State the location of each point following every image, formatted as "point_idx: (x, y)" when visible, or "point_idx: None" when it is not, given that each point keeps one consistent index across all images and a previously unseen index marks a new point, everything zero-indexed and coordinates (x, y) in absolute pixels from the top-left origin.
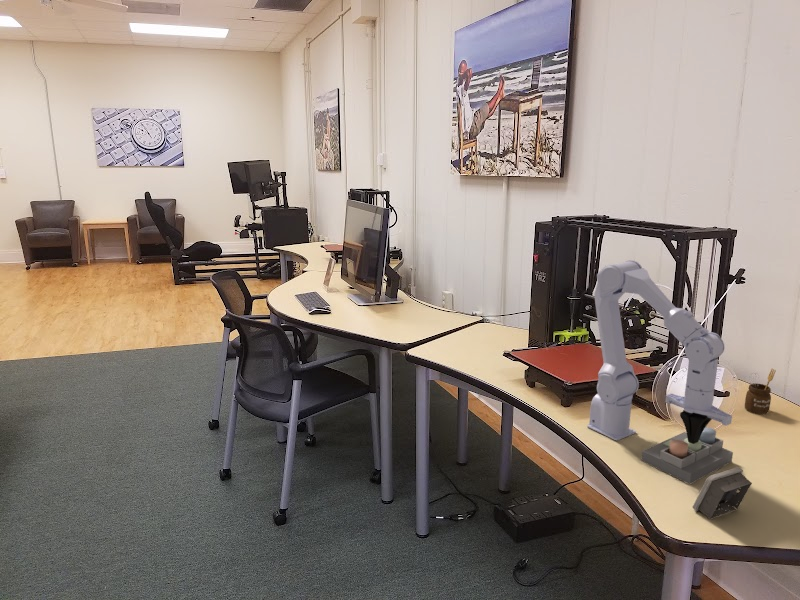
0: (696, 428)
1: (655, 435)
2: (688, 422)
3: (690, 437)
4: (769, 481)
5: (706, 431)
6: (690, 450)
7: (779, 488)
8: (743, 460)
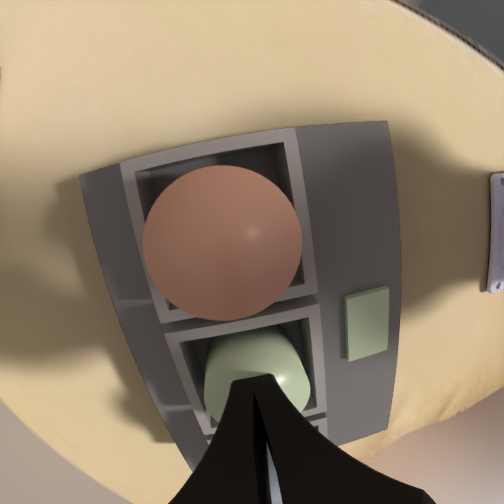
0: (194, 483)
1: (445, 343)
2: (295, 496)
3: (256, 399)
4: (72, 432)
5: (275, 492)
6: (210, 328)
7: (41, 419)
8: None
